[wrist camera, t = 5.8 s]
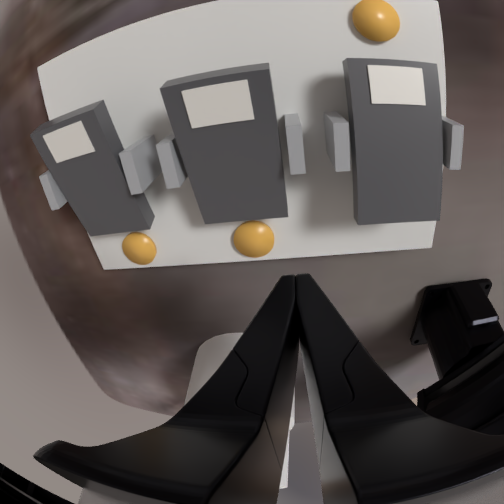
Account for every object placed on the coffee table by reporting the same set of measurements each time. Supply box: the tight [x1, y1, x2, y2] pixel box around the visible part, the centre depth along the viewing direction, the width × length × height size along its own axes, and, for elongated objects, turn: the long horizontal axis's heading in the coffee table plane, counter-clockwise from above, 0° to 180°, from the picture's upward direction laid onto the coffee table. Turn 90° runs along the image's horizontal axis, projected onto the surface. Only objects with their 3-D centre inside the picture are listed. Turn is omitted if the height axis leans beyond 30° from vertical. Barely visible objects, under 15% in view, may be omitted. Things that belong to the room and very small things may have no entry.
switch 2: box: [160, 63, 288, 224], centre depth 13 cm, size 7×4×1 cm, turn 9°
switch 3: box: [342, 58, 443, 225], centre depth 11 cm, size 7×4×1 cm, turn 8°
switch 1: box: [30, 100, 155, 236], centre depth 14 cm, size 7×4×1 cm, turn 9°
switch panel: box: [37, 0, 464, 270], centre depth 14 cm, size 14×21×5 cm, turn 98°
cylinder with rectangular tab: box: [184, 333, 295, 489], centre depth 22 cm, size 9×9×12 cm
